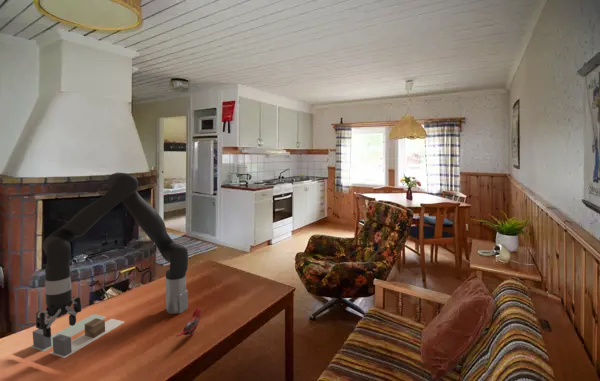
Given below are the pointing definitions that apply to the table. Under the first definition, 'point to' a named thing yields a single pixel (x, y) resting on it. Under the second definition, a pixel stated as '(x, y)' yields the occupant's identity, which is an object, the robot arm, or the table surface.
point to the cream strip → (78, 340)
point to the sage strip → (46, 343)
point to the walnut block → (94, 328)
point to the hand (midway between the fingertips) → (60, 330)
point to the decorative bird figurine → (191, 324)
